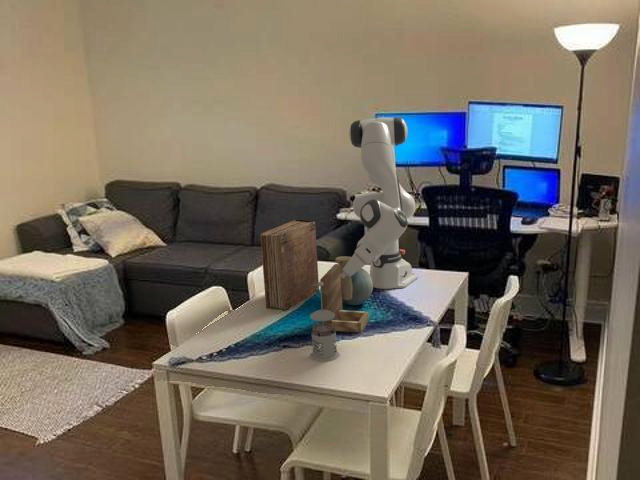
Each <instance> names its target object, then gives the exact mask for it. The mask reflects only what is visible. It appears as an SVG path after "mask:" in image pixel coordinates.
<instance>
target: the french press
mask: <svg viewBox="0 0 640 480" xmlns="http://www.w3.org/2000/svg"><path fill="white" fill-rule="evenodd" d="M323 285H324V284H323V282H320V281H319V282H318V286H319V290H321V286H323ZM320 301H321V302H320V304H321V305H320V306H321V307H322V293H321V292H320ZM334 317H335V313H333V312H331V311H329V310H323V309H322V308H321V309H318V310H315V311H314V312H312V313H311V314H310V315H309V318H310V320H312V321H316V324H313V325H312V328H311V329H312V330H311V343H312V345H311V346H312V347H311V348H312V352H311V353H310V355H309V358H310V359H311V360H313V361H315V362H318V363H319V362H320V363H327V362H332V361H335V360H337V359H338V358H339V357H340V355H341V353H340V352H339V350H338V348H337V334H336V333H337V331H335V329H334V325H332V324H329V323H323V321H329V320H332V319H333V318H334ZM319 322H320V323H319ZM321 322H322V323H321ZM329 331H331V332H330V333H328V332H329Z"/></svg>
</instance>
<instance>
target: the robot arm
mask: <svg viewBox="0 0 640 480" xmlns="http://www.w3.org/2000/svg"><path fill="white" fill-rule="evenodd" d="M348 136H349V140H350V142H351V144H352V146H353V147H355V148H359V149H360V158H361V164H362V167H363V169H364V170H365V171H366V172H367V176H368V177H367V178H368V179H369V181H370V182H371V183H372V184H374V185H375V186H377V187H379V188H380V189H381V190H382V192H370V191H368V192H363V193H358V194H357V195H356V196H355V198H354V200H353V202H352V210H353V212H354V214H355V215H356V217H358V219H360V221H361V223H362V224H363V225H364V226H365V227H366V228H367V229H368V231H367V232H366V234H364V235H363V236H362V238H360V240H358V242H357V243H356V244H357V245H356V248H355V250H354V253H353V255H352V256H350V257H351V259H350V260H349V261H348V263H347V264H346V265H345V266H344V268H343V272H342V273H341V275H340V276H341V277H342V278H345V277H346V276H348V277H350V276H352V275H353V274H355V273H356V272H357V271H358V270H360V269H361V268H362V269H363V268H364V267H365V266H366V265H370V268H369V275H370V276H371V279H372V282H373V288H376V289H383V290H384V289H385V290H387V289H388V290H389V289H404V288H407V287H408V286H409V285H410V284H412V283H413V282H415V281H416V280H417V279H419V275H418V274H416V273H413V269H412V265H411V264H410V262H408V261H406V259H403V258H402V255H405V253H406V250H405V249H401V248H399V238H400V237H401V236H402V235H403V234H404V233H405V231H406V230H407V227H408V223H409V222H408V219H410V218H411V217H412V216H413V215H414V213H415V210H416V202H415V198H414V197H413V196H412V195H411V194H409V193H408V191H406V190H405V189H404V188H403V186H402V185H401V184H400V181H399V176H398V173H397V169H396V167H397V166H396V156H395V155H396V154H395V147H398V146H399V145H402V144H404V143H405V142H406V139H407V137H408V126H407V123H406V121H405V120H404V119H403V118H401V117H397V116H394V117H377V118H376V117H375V118H367V119H363V120H362V119H358V120H355V121H353V122H352V123H351V125H350V128H349V130H348Z"/></svg>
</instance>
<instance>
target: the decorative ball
mask: <svg viewBox="0 0 640 480" xmlns="http://www.w3.org/2000/svg"><path fill="white" fill-rule="evenodd" d="M351 279H352V299H351V300H344V299H343V294H342V303H344V304H347V305H349V306H357V305H358V306H359V305H361V304H363V303H366V301H368V300H369V298H370V297H371V295H372V293H373V289H374V287H373V282H372V279H371V276H370V272H368V271H367V270H366V269H364V268H363V267H362V268H361V269H360V270H358V271H357V272H356V273H355V274H353V275H352V276H351Z"/></svg>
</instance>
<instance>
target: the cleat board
mask: <svg viewBox="0 0 640 480" xmlns="http://www.w3.org/2000/svg"><path fill="white" fill-rule="evenodd" d="M340 275H341V270H340V265H339V264H338V263H335V264H333V265H332V266H331V267H330V269H329V270H328V271H327V272H326V273H325V274H323V276H322V277H321V278H320V279H319V282H323V284H324V285H323V286H321V289H320V294H321V293H322V306H321V310H322V309H323V310H329V311H331V312H333V313H335V317H334V318H333V319H332V320H329V321H323V322H322V323H329V324H332V325H334V329H335V331H336V332H346V333H347V332H349V333H350V332H351V333H362V332H363V330H364V329H365V328H366V326H367V324H368V322H370V321H369V318H370V317H369V316H370V315H369V311H361V310H347V309H346V310H345V309H343V302H342V290H341V276H340ZM328 333H332V331H329V332H328Z"/></svg>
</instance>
